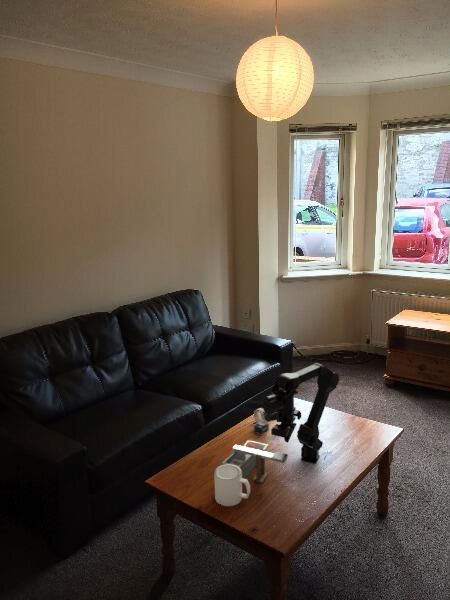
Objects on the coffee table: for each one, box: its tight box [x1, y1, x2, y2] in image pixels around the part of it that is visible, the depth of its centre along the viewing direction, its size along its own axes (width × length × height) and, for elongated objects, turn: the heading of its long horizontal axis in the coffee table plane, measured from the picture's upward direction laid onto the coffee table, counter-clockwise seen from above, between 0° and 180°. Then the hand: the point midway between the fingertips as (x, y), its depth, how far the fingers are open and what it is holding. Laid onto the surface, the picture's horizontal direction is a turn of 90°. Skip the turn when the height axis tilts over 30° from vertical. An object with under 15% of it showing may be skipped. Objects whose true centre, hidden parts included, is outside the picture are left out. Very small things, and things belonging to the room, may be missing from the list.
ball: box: [247, 443, 256, 449], centre depth 206 cm, size 4×4×4 cm
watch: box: [253, 407, 270, 435], centre depth 225 cm, size 6×8×11 cm
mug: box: [213, 464, 251, 507], centre depth 176 cm, size 14×10×11 cm
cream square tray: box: [242, 439, 269, 452], centre depth 205 cm, size 10×10×4 cm
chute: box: [221, 449, 258, 479], centre depth 192 cm, size 8×18×8 cm, turn 153°
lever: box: [231, 444, 289, 464], centre depth 187 cm, size 22×5×6 cm, turn 63°
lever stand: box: [252, 449, 269, 484], centre depth 188 cm, size 4×6×11 cm, turn 153°
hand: (286, 441), depth 191 cm, fingers closed
